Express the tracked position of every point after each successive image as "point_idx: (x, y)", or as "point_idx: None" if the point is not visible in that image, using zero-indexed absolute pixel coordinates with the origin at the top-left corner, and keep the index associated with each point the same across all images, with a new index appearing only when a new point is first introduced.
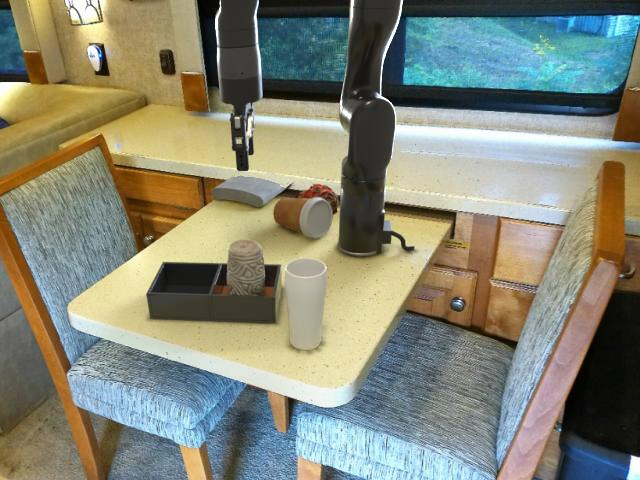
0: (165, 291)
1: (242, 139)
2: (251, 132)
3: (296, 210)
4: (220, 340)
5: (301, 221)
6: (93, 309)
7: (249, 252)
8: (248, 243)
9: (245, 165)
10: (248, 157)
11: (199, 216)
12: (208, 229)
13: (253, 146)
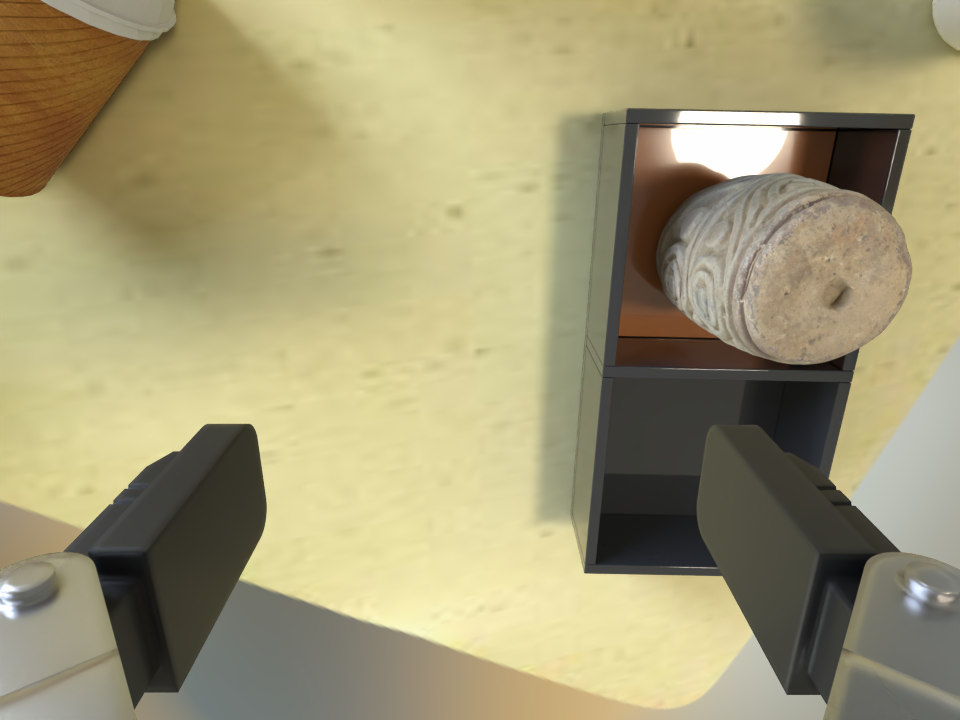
0: (625, 511)
1: (196, 647)
2: (105, 610)
3: (58, 55)
4: (909, 299)
5: (146, 25)
6: (695, 666)
7: (903, 255)
8: (810, 272)
9: (824, 478)
10: (772, 488)
11: (36, 504)
12: (142, 454)
13: (202, 462)
